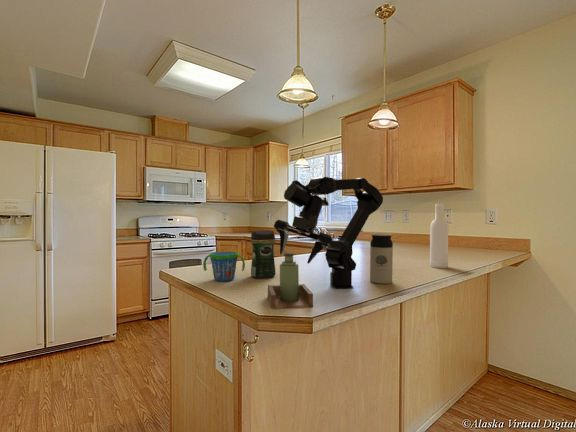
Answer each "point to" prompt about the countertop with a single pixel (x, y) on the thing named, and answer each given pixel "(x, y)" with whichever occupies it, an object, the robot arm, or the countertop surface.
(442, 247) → the bottle
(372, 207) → the robot arm
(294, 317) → the countertop surface
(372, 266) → the travel mug
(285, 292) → the bottle
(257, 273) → the coffee jar
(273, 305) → the wooden serving tray
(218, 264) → the snack cup
